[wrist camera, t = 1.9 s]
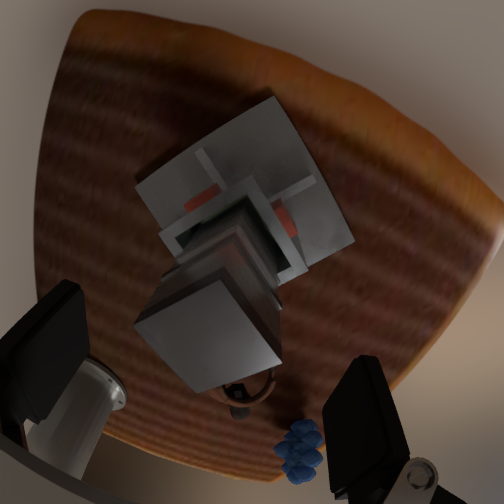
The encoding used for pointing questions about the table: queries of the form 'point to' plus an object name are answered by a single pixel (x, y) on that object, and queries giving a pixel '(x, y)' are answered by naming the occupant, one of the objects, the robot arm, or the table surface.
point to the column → (219, 302)
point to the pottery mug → (242, 396)
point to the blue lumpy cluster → (300, 451)
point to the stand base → (251, 188)
